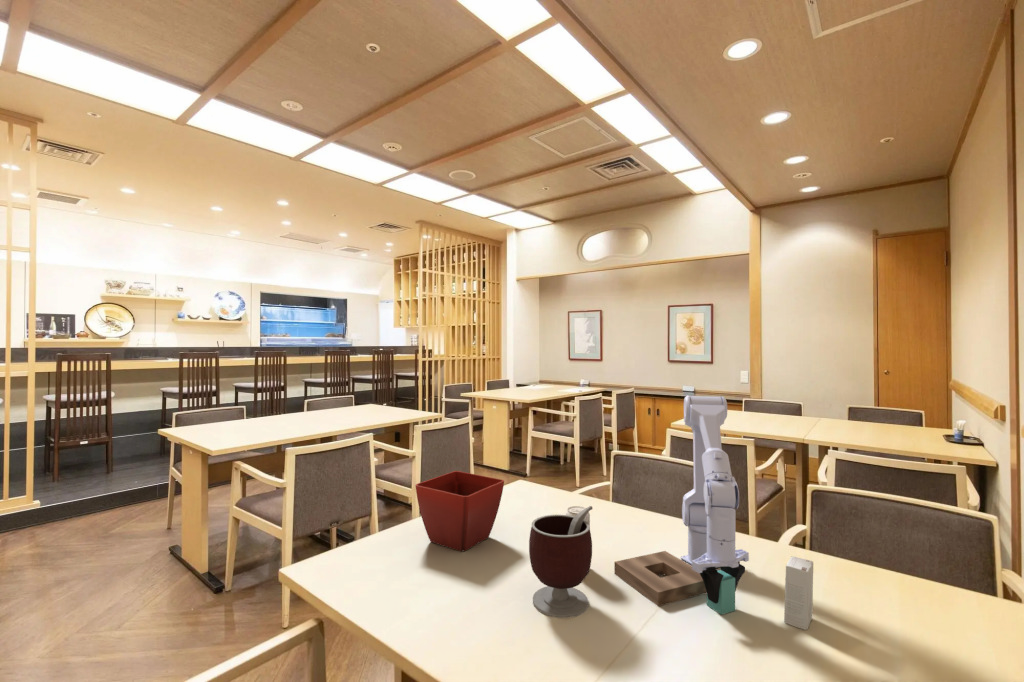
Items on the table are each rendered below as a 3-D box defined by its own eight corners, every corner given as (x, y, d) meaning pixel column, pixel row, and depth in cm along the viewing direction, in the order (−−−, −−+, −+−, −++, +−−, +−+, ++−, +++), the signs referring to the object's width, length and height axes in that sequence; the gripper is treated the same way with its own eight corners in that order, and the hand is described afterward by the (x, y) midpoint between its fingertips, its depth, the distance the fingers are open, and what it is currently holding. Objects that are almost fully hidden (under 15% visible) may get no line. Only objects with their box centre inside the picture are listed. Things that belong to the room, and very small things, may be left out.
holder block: (665, 562, 125) (665, 550, 125) (713, 591, 111) (713, 578, 111) (614, 573, 119) (614, 561, 119) (658, 606, 104) (658, 592, 104)
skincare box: (789, 610, 103) (789, 554, 103) (813, 618, 100) (813, 560, 100) (783, 623, 98) (783, 564, 98) (808, 632, 95) (808, 571, 95)
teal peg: (720, 601, 106) (720, 569, 106) (735, 610, 103) (735, 577, 103) (706, 605, 105) (706, 573, 105) (721, 614, 101) (721, 581, 101)
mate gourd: (550, 627, 97) (550, 527, 97) (517, 594, 109) (518, 507, 109) (611, 607, 104) (611, 515, 104) (574, 579, 116) (574, 497, 116)
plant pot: (505, 535, 142) (505, 479, 143) (466, 560, 126) (466, 496, 126) (455, 522, 153) (455, 470, 153) (413, 544, 137) (413, 484, 137)
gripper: (710, 548, 97) (710, 615, 97) (760, 537, 103) (760, 600, 103) (684, 536, 104) (684, 598, 104) (733, 526, 109) (733, 585, 109)
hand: (720, 598), depth 104 cm, fingers closed on teal peg, 4 cm apart
